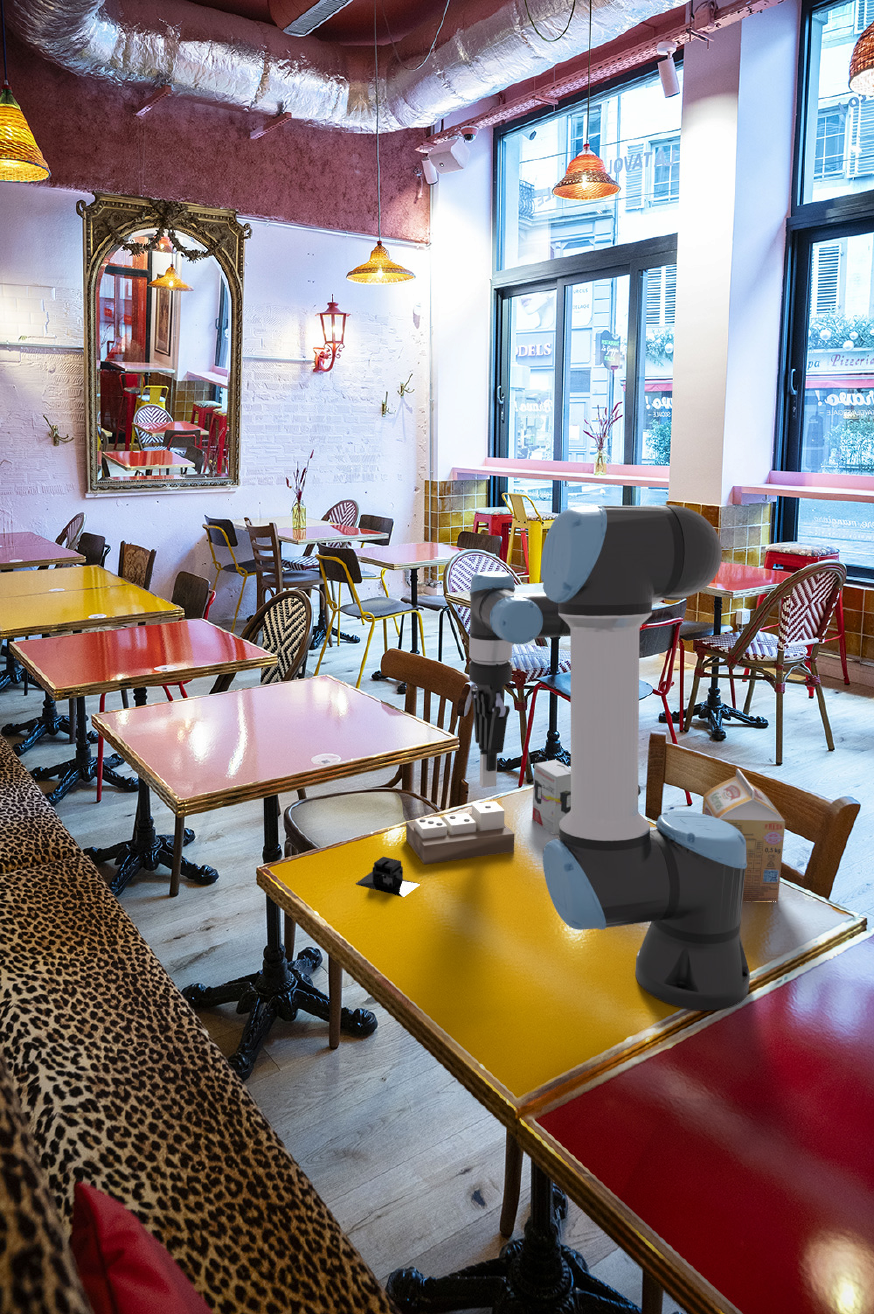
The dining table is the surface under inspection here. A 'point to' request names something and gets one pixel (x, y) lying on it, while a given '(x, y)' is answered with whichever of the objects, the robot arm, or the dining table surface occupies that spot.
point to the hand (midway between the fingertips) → (487, 785)
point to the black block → (388, 878)
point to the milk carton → (751, 833)
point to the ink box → (551, 794)
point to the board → (460, 844)
